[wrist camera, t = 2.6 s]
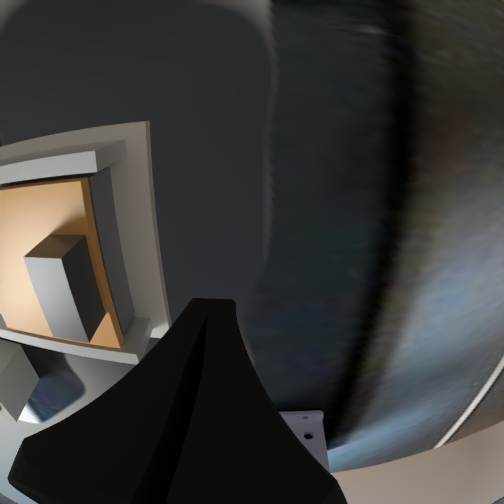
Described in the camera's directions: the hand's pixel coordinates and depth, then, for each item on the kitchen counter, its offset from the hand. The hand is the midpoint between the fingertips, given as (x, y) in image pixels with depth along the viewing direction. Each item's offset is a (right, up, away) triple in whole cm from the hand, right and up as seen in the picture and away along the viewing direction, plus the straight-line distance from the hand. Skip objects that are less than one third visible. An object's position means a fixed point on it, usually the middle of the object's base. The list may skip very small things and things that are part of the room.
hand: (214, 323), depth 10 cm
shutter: (-9, +2, +3) cm, 10 cm away
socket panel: (-14, +3, +5) cm, 16 cm away
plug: (-21, -7, +11) cm, 25 cm away
